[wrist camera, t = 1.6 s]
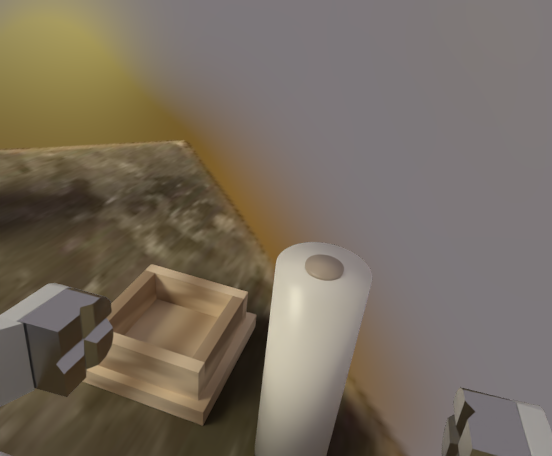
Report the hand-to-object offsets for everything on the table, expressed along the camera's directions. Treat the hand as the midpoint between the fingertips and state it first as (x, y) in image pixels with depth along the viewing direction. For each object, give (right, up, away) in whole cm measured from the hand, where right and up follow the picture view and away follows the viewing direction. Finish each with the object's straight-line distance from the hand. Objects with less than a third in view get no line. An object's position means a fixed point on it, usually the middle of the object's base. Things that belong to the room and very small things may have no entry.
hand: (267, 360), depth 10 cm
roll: (+1, -13, +21) cm, 25 cm away
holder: (-9, -8, +28) cm, 30 cm away
